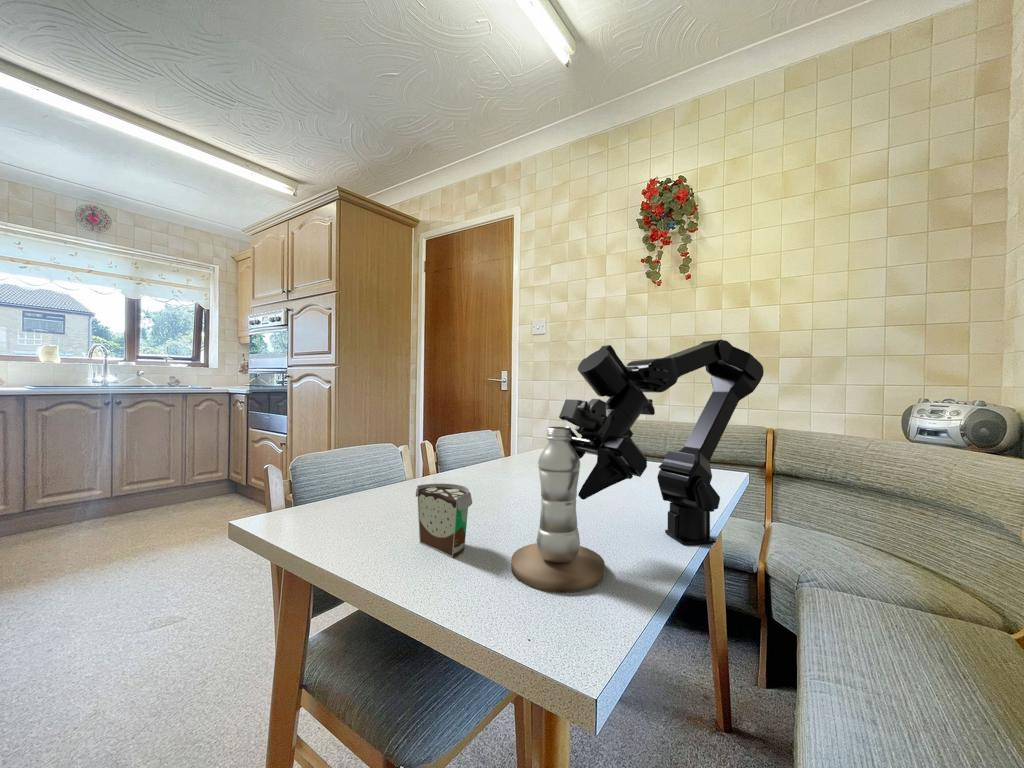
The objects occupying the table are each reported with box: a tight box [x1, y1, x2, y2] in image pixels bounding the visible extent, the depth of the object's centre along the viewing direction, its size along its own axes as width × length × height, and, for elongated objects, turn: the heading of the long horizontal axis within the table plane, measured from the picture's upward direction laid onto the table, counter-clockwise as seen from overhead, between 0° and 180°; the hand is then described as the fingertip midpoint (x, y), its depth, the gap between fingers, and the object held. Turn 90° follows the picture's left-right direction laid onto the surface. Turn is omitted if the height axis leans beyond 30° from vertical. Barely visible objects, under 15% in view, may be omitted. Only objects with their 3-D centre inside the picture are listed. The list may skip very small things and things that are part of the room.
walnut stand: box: [510, 542, 606, 593], centre depth 61 cm, size 14×14×2 cm
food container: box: [415, 483, 473, 559], centre depth 70 cm, size 12×6×10 cm, turn 47°
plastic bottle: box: [536, 426, 581, 563], centre depth 61 cm, size 6×7×20 cm
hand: (562, 490), depth 61 cm, fingers open, 9 cm apart
